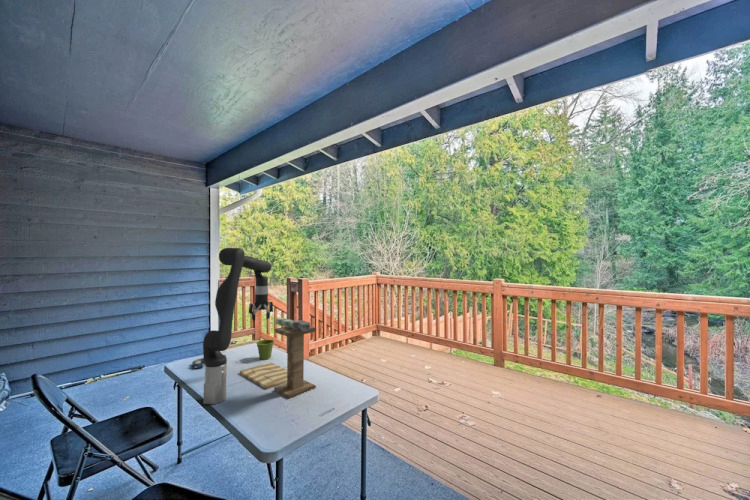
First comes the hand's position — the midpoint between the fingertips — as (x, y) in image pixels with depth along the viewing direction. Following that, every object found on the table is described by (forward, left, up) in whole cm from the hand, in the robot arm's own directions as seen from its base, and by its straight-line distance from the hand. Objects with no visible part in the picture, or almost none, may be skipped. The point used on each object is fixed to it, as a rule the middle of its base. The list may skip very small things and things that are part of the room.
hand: (260, 319), depth 185 cm
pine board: (-8, -10, -31) cm, 33 cm away
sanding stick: (-21, -28, +1) cm, 35 cm away
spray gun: (+6, +38, -32) cm, 49 cm away
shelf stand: (-23, -32, -31) cm, 50 cm away
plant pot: (+21, +7, -31) cm, 38 cm away
